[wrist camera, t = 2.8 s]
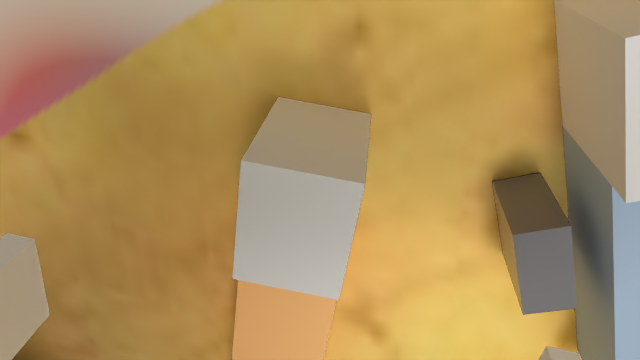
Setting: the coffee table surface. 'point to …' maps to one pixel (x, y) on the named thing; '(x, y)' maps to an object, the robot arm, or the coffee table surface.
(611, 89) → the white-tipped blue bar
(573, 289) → the grey blocks
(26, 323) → the robot arm
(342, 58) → the coffee table surface
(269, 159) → the white-capped orange post
